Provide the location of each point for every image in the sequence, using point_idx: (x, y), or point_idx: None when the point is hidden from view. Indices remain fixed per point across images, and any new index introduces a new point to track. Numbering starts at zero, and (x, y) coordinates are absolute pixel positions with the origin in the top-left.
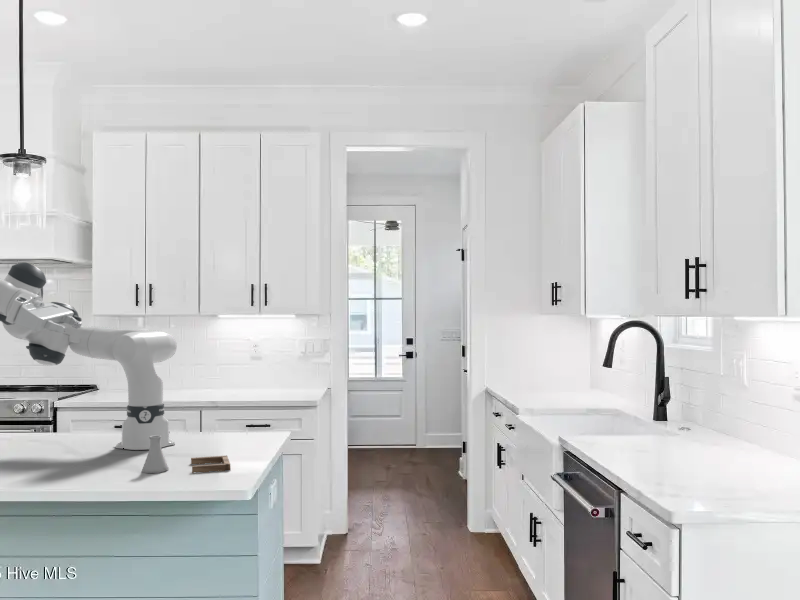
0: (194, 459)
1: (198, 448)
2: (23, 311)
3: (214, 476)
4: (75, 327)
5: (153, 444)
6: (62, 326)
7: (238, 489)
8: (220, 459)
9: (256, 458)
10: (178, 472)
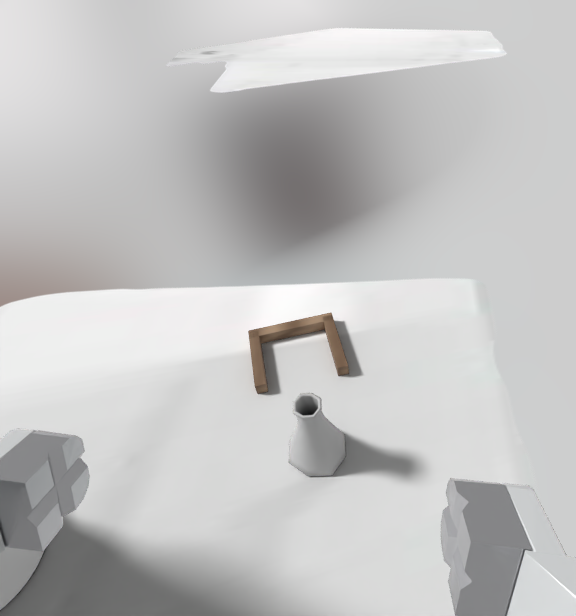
0: (265, 379)
1: (91, 413)
2: None
3: (378, 334)
4: (63, 508)
5: (320, 416)
6: (533, 505)
7: (473, 287)
8: (260, 341)
9: (237, 302)
10: (337, 399)
